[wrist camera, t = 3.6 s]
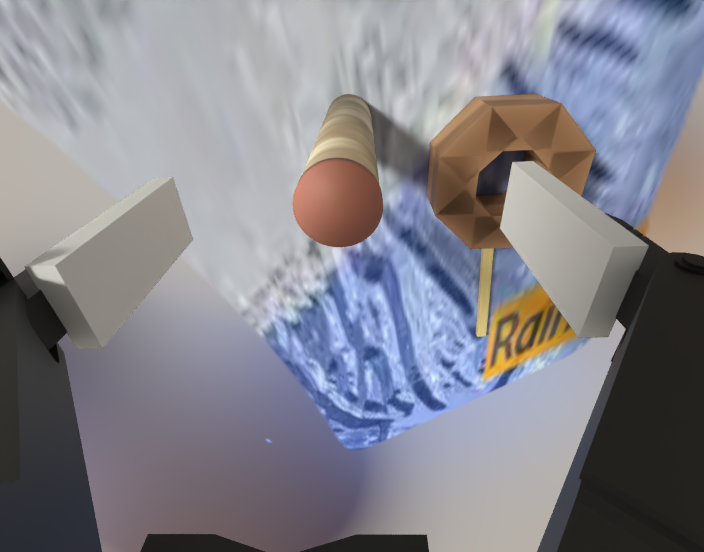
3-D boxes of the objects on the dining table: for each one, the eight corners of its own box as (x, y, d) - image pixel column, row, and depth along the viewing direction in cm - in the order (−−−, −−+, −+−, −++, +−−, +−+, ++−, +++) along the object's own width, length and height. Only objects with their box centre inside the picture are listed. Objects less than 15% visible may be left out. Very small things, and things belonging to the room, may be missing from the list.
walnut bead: (424, 227, 31) (432, 250, 28) (433, 99, 26) (443, 109, 22) (543, 222, 31) (565, 245, 28) (578, 91, 25) (611, 100, 22)
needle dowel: (328, 142, 28) (299, 248, 14) (324, 94, 26) (286, 164, 13) (372, 140, 27) (383, 245, 14) (371, 92, 26) (382, 160, 12)
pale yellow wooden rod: (484, 332, 38) (486, 335, 38) (475, 333, 38) (477, 336, 38) (492, 239, 32) (494, 242, 32) (482, 241, 32) (483, 243, 32)
